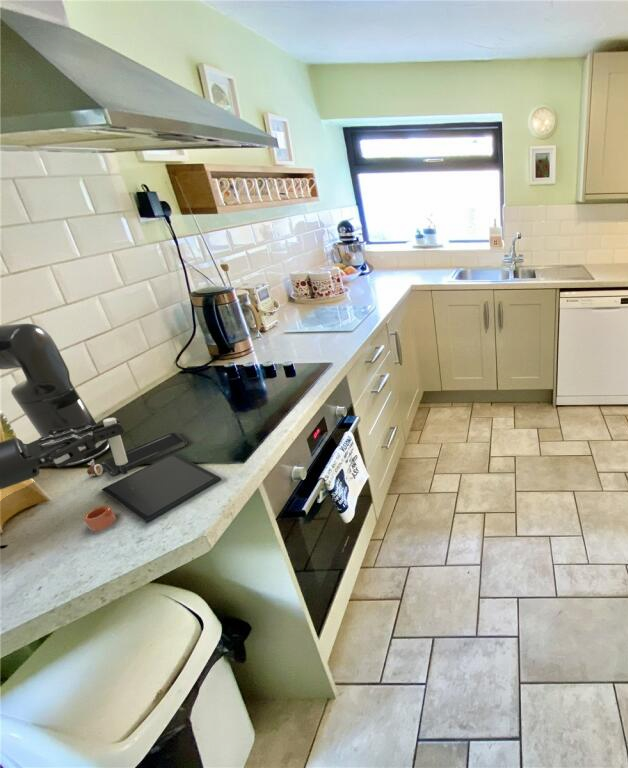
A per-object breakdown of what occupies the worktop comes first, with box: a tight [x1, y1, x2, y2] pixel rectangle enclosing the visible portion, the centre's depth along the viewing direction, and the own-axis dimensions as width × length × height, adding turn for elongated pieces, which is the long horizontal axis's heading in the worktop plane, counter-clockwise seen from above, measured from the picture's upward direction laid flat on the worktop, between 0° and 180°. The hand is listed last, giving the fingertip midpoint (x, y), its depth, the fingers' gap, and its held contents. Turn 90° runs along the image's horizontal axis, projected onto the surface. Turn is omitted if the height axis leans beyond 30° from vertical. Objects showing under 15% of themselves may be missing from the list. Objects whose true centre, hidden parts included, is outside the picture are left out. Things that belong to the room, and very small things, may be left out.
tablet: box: [101, 452, 222, 524], centre depth 90 cm, size 20×14×1 cm
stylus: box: [102, 417, 129, 475], centre depth 81 cm, size 2×2×12 cm
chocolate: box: [86, 459, 104, 477], centre depth 94 cm, size 3×2×4 cm
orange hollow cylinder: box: [82, 505, 117, 532], centre depth 80 cm, size 4×4×3 cm
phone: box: [101, 431, 188, 477], centre depth 100 cm, size 8×1×15 cm
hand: (120, 425), depth 81 cm, fingers closed on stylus, 2 cm apart
